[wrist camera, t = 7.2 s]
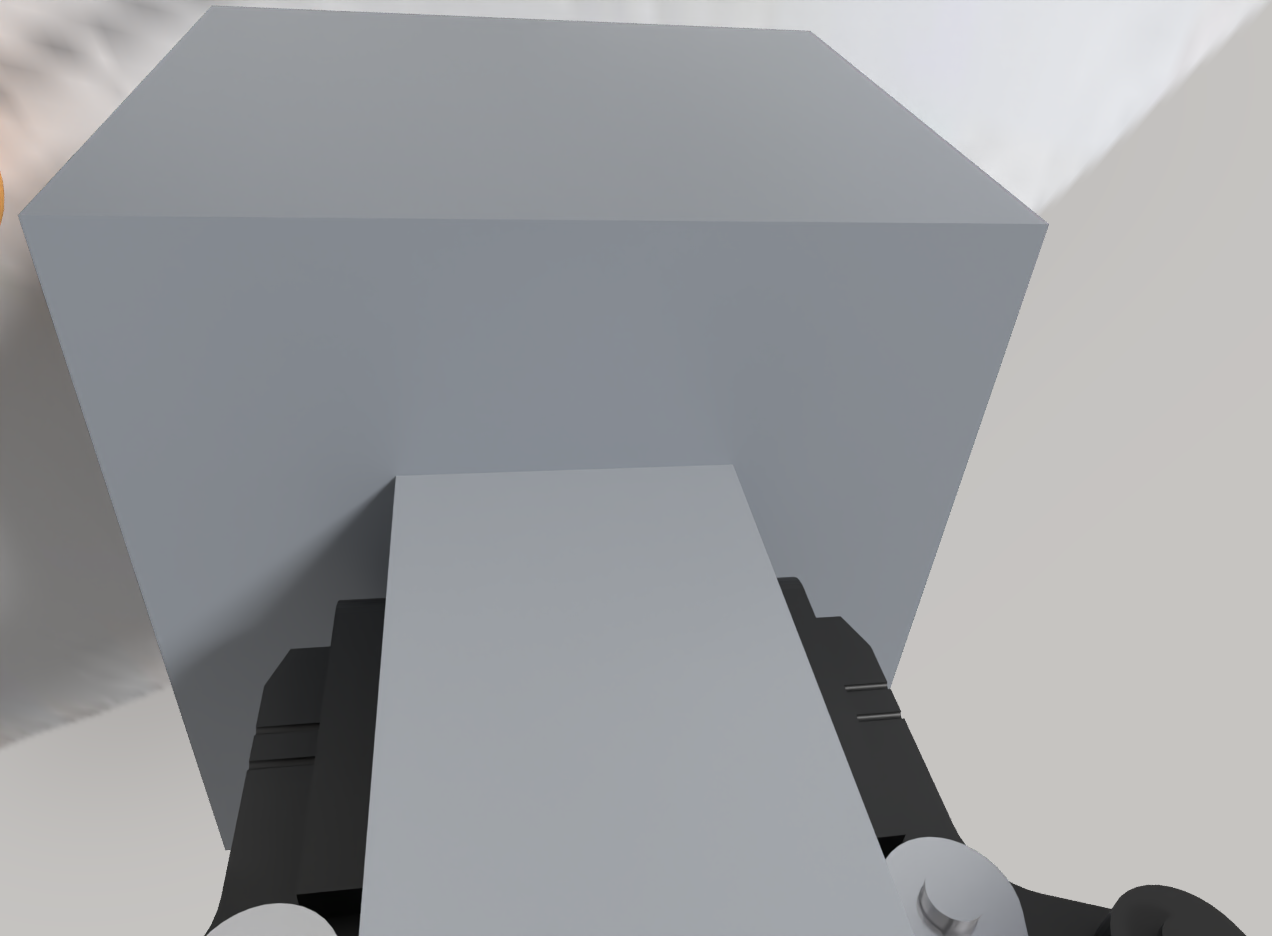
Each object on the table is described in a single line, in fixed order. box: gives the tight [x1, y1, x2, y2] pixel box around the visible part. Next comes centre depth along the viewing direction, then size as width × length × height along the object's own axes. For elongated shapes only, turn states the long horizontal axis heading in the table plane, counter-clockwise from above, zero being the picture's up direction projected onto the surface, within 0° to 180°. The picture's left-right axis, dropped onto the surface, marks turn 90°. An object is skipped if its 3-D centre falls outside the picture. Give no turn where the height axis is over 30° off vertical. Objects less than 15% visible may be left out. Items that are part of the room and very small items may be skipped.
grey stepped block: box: [18, 6, 1049, 936], centre depth 14 cm, size 10×10×15 cm
